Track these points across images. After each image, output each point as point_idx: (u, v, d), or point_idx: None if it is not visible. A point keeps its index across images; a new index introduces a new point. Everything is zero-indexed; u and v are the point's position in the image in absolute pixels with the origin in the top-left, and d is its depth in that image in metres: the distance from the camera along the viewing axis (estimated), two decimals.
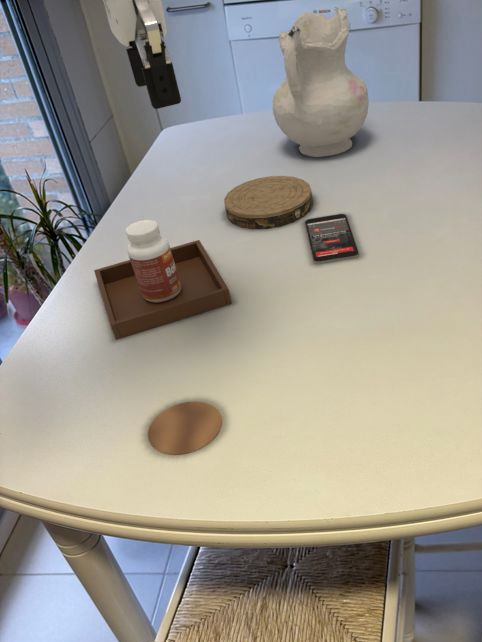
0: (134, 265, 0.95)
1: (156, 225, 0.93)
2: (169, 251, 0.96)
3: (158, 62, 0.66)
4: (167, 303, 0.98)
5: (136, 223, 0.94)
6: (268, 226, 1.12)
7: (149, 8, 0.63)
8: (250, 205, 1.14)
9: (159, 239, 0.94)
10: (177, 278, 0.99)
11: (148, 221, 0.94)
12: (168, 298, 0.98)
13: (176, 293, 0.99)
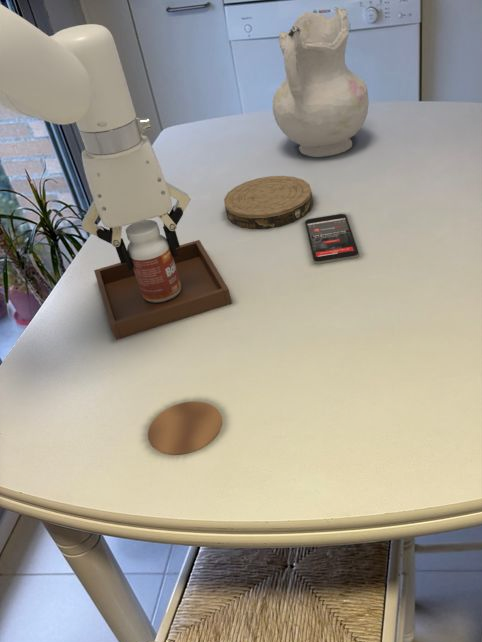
0: (134, 265, 0.95)
1: (156, 225, 0.93)
2: (169, 251, 0.96)
3: None
4: (167, 303, 0.98)
5: (136, 223, 0.94)
6: (268, 226, 1.12)
7: (88, 213, 0.89)
8: (250, 205, 1.14)
9: (159, 239, 0.94)
10: (177, 278, 0.99)
11: (148, 221, 0.94)
12: (168, 298, 0.98)
13: (176, 293, 0.99)
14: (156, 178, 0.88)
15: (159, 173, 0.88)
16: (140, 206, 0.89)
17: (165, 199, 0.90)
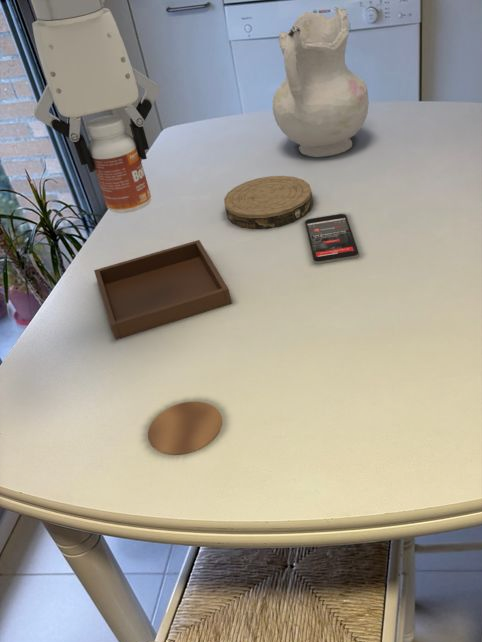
0: (96, 166, 0.84)
1: (121, 119, 0.82)
2: (136, 152, 0.84)
3: None
4: (167, 303, 0.98)
5: (98, 118, 0.83)
6: (268, 226, 1.12)
7: (41, 98, 0.77)
8: (250, 205, 1.14)
9: (125, 136, 0.83)
10: (146, 186, 0.87)
11: (112, 116, 0.83)
12: (135, 208, 0.87)
13: (145, 203, 0.88)
14: (119, 57, 0.76)
15: (123, 51, 0.76)
16: (101, 91, 0.78)
17: (130, 85, 0.79)
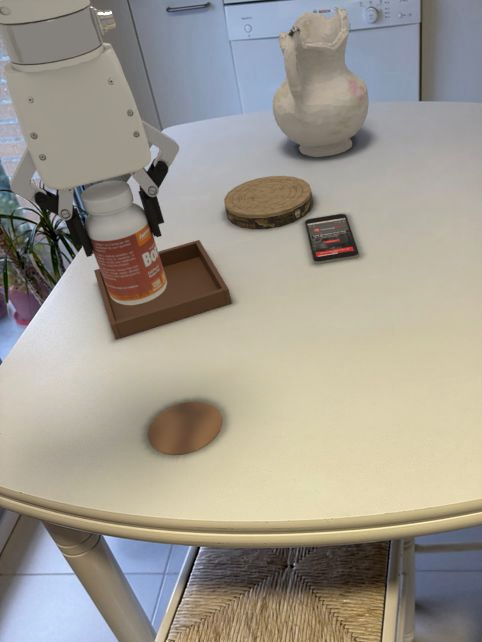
0: (95, 249, 0.63)
1: (127, 187, 0.61)
2: (148, 228, 0.64)
3: None
4: (167, 303, 0.98)
5: (97, 185, 0.62)
6: (268, 226, 1.12)
7: (19, 166, 0.57)
8: (250, 205, 1.14)
9: (133, 209, 0.62)
10: (160, 269, 0.67)
11: (116, 182, 0.63)
12: (147, 298, 0.67)
13: (159, 291, 0.67)
14: (125, 110, 0.56)
15: (130, 102, 0.56)
16: (101, 155, 0.57)
17: (140, 145, 0.58)
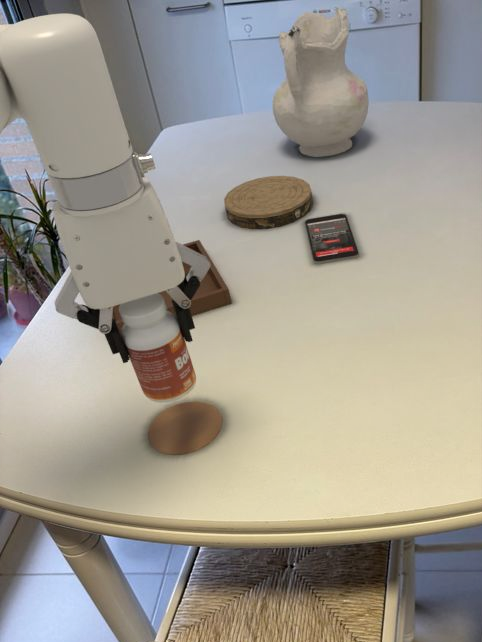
0: (131, 356, 0.67)
1: (162, 301, 0.66)
2: (180, 335, 0.68)
3: None
4: (167, 303, 0.98)
5: None
6: (268, 226, 1.12)
7: (64, 290, 0.61)
8: (250, 205, 1.14)
9: (167, 319, 0.67)
10: (191, 369, 0.71)
11: None
12: (178, 397, 0.71)
13: (189, 389, 0.71)
14: (162, 240, 0.60)
15: (167, 232, 0.60)
16: (139, 279, 0.61)
17: (175, 268, 0.62)
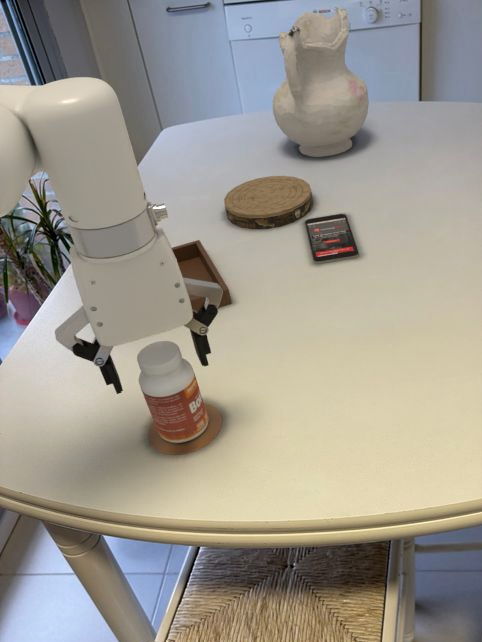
0: (148, 400, 0.72)
1: (178, 351, 0.70)
2: (194, 381, 0.72)
3: None
4: None
5: (151, 346, 0.71)
6: (268, 226, 1.12)
7: (70, 322, 0.64)
8: (250, 205, 1.14)
9: (182, 367, 0.71)
10: (203, 411, 0.75)
11: (167, 343, 0.71)
12: (192, 438, 0.75)
13: (202, 430, 0.76)
14: (173, 283, 0.63)
15: (177, 276, 0.63)
16: (150, 319, 0.65)
17: (184, 308, 0.66)
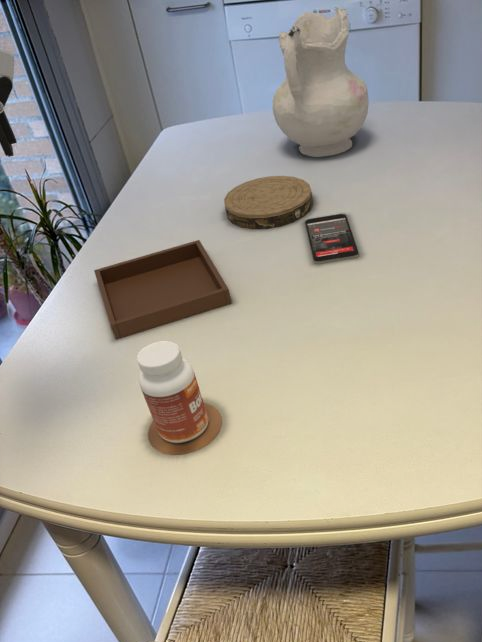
0: (148, 400, 0.72)
1: (178, 351, 0.70)
2: (194, 381, 0.72)
3: None
4: (167, 303, 0.98)
5: (151, 346, 0.71)
6: (268, 226, 1.12)
7: None
8: (250, 205, 1.14)
9: (182, 367, 0.71)
10: (203, 411, 0.75)
11: (167, 343, 0.71)
12: (192, 438, 0.75)
13: (202, 430, 0.76)
14: None
15: None
16: None
17: None
